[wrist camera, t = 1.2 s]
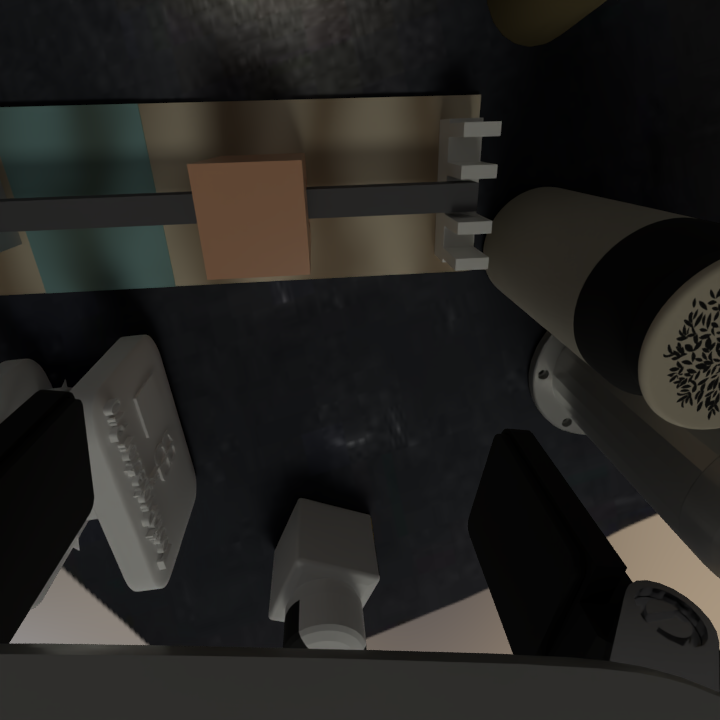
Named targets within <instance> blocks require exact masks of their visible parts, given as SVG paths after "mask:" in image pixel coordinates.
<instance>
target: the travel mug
mask: <svg viewBox="0 0 720 720" xmlns="http://www.w3.org/2000/svg"><path fill="white" fill-rule="evenodd" d="M483 254H485V255H486V256H488V257H489V263H488V269H486V272H487V274H488V276H489V278H490V280H491V282H492V283H493V284H494V285H495V286H496V287H497V288H498V289H499V290H500V291H501V292H502V293H503V294H505V295H506V296H507V297H508V298H509V299H511V300H512V301H513V302H514V303H515V304H517V305H518V306H519V307H520V308H521V309H522V310H524V311H525V312H526V313H527V314H528V315H530V316H531V317H532V318H533V319H534V320H536V321H537V322H538V323H539V324H540V325H542V326H543V327H544V328H545V329H546V330H547V331H549V332H550V333H551V334H552V335H553V336H555V337H556V338H557V339H558V340H559V341H561V342H562V343H563V344H564V345H565V346H566V347H568V348H569V349H570V350H571V351H572V352H574V353H575V354H576V355H577V356H578V357H580V358H581V359H582V360H583V361H584V362H585V363H587V364H588V365H589V366H590V367H591V368H593V369H594V370H595V371H596V372H597V373H599V374H600V375H601V376H602V377H603V378H604V379H606V380H607V381H608V382H609V383H611V384H612V385H613V386H615V387H616V388H618V389H620V390H622V391H625V392H627V393H631V394H634V395H640V396H643V397H644V399H645V401H646V402H647V404H648V405H649V407H650V408H651V409H652V410H653V411H654V412H655V413H656V414H657V415H658V416H659V417H661V418H662V419H664V420H665V421H667V422H669V423H672V424H674V425H677V426H680V427H684V428H689V429H701V430H706V429H717V428H720V223H716V222H711V221H707V220H702V219H698V218H693V217H688V216H684V215H679V214H675V213H670V212H666V211H661V210H657V209H652V208H648V207H643V206H639V205H634V204H630V203H625V202H621V201H616V200H611V199H607V198H602V197H598V196H593V195H589V194H584V193H580V192H575V191H571V190H566V189H562V188H557V187H540V188H535V189H532V190H529V191H526V192H524V193H522V194H520V195H518V196H517V197H515V198H514V199H512V200H511V201H510V202H508V203H507V204H506V205H505V206H504V207H503V208H502V209H501V210H500V211H499V213H498V214H497V215H496V217H495V218H494V220H493V221H492V231H491V233H489V234H487V235H486V238H485V242H484V249H483Z"/></svg>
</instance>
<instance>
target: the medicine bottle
mask: <svg viewBox="0 0 720 720" xmlns="http://www.w3.org/2000/svg"><path fill="white" fill-rule="evenodd" d="M379 579H380V574H379V568H378V561H377V554H376V548H375V541H374V534H373V528H372V521H371V517H370V515H368V514H364V513H360V512H356V511H352V510H348V509H344V508H340V507H336V506H332V505H328V504H324V503H321V502H317V501H313V500H309V499H305V498H299V499H298V501H297V503H296V505H295V507H294V509H293V512H292V514H291V516H290V518H289V520H288V523H287V525H286V527H285V529H284V531H283V534H282V536H281V538H280V540H279V542H278V545H277V547H276V549H275V552H274V562H273V573H272V584H271V595H270V605H269V618H270V619H271V620H276V621H282V622H285V623H284V640H283V648H302V649H344V650H366V638H365V628H364V619H363V609H362V608H363V607H364V605H365V603H366V602H367V600H368V598H369V597H370V595H371V593H372V592H373V590H374V588H375V587H376V585H377V583H378V582H379Z"/></svg>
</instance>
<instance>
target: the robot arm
mask: <svg viewBox="0 0 720 720" xmlns="http://www.w3.org/2000/svg"><path fill="white" fill-rule="evenodd" d="M529 389H530V393H531V397H532V399H533V401H534V403H535V405H536V407H537V408H538V410H539V411H540V412H541V413H542V415H543V416H544V417H545V418H546V419H547V420H548V421H549V422H550V423H552V424H553V425H554V426H556V427H558V428H560V429H562V430H564V431H568V432H571V433H575V434H585V435H587V436H588V437H589V438H590V439H591V440H592V442H593V443H594V444H595V445H596V446H597V447H598V448H599V449H600V450H601V451H602V453H603V454H604V455H605V456H606V457H607V458H608V459H609V460H610V461H611V462H612V464H613V465H614V466H615V467H616V468H617V469H618V470H619V471H620V472H621V474H622V475H623V476H624V477H625V478H626V479H627V480H628V481H629V482H630V483H631V485H632V486H633V487H634V488H635V489H636V490H637V491H638V492H639V493H640V494H641V496H642V497H643V498H644V499H645V500H646V501H647V502H648V503H649V504H650V506H651V507H652V508H653V509H654V510H655V511H656V512H657V513H658V514H659V515H660V517H661V518H662V519H663V520H664V521H665V522H666V523H667V524H668V525H669V526H670V528H671V529H672V530H673V531H674V532H675V533H676V534H677V535H678V536H679V537H680V539H681V540H682V541H683V542H684V543H685V544H686V545H687V546H688V547H689V548H690V549H691V551H692V552H693V553H694V554H695V555H696V556H697V557H698V558H699V559H700V560H701V561H702V563H703V564H704V565H706V567H708V568H709V569H710V570H711V571H712V572H713V573H714V574H715V575H716V576H717V577H719V578H720V428H717V429H706V430H701V429H689V428H684V427H680V426H677V425H674V424H672V423H669V422H667V421H665V420H664V419H662V418H661V417H659V416H658V415H657V414H656V413H655V412H654V411H653V410H652V409H651V408H650V407H649V405H648V404H647V402H646V401H645V399H644V397H643V396H640V395H634V394H631V393H627V392H625V391H622V390H620V389H618V388H616V387H615V386H613V385H612V384H611V383H609V382H608V381H607V380H606V379H604V378H603V377H602V376H601V375H600V374H599V373H597V372H596V371H595V370H594V369H593V368H591V367H590V366H589V365H588V364H587V363H585V362H584V361H583V360H582V359H581V358H580V357H578V356H577V355H576V354H575V353H574V352H572V351H571V350H570V349H569V348H568V347H566V346H565V345H564V344H563V343H562V342H561V341H559V340H558V339H557V338H556V337H555V336H553V335H552V334H551V333H550V332H549V331H546V333H545V334H544V336H543V337H542V339H541V340H540V342H539V344H538V345H537V347H536V350H535V352H534V354H533V357H532V359H531V364H530V369H529ZM93 504H94V490H93V482H92V474H91V466H90V458H89V450H88V441H87V433H86V425H85V417H84V409H83V404H82V401H81V400H79V399H75V397H74V395H73V393H71V392H67V391H55V390H44V389H43V390H39V391H37V392H36V393H35V394H33V395H32V396H31V397H30V398H29V399H28V400H27V401H25V402H24V403H23V404H22V405H21V406H20V407H19V408H17V409H16V410H15V411H14V412H13V413H12V414H11V415H9V416H8V417H7V418H6V419H5V420H4V421H3V422H2V423H0V720H720V650H719V640H718V636H717V631H716V630H715V628H714V626H713V625H712V623H711V621H710V620H709V618H708V617H707V616H706V615H705V614H704V613H703V612H702V611H701V609H700V608H699V607H698V606H696V605H695V604H694V603H693V602H692V601H690V600H689V599H688V598H687V597H685V596H684V595H682V594H680V593H679V592H677V591H676V590H674V589H672V588H670V587H667V586H665V585H663V584H660V583H657V582H652V581H648V580H644V581H635V582H632V581H631V580H630V578H629V577H628V575H627V574H626V572H625V571H626V569H627V567H626V565H625V564H624V563H623V561H622V560H621V558H620V557H619V555H618V554H617V553H616V551H615V550H614V549H613V547H612V545H611V544H610V543H609V541H608V540H607V538H606V537H605V536H604V534H603V533H602V531H601V530H600V528H599V527H598V526H597V524H596V523H595V521H594V520H593V519H592V517H591V516H590V514H589V513H588V511H587V510H586V509H585V507H584V506H583V504H582V503H581V502H580V500H579V499H578V497H577V496H576V494H575V493H574V492H573V490H572V489H571V487H570V486H569V485H568V483H567V482H566V480H565V479H564V477H563V476H562V475H561V473H560V472H559V470H558V469H557V468H556V466H555V465H554V463H553V462H552V460H551V459H550V458H549V456H548V455H547V453H546V452H545V451H544V449H543V448H542V446H541V445H540V443H539V442H538V441H537V439H536V438H535V436H534V435H533V434H532V433H531V432H530V431H528V430H517V429H504V430H503V432H502V433H501V434H497V435H496V436H495V437H494V439H493V443H492V446H491V449H490V452H489V455H488V459H487V462H486V465H485V468H484V471H483V474H482V478H481V481H480V484H479V487H478V490H477V494H476V497H475V500H474V503H473V506H472V510H471V513H470V516H469V520H468V531H469V535H470V538H471V540H472V543H473V546H474V549H475V551H476V554H477V557H478V560H479V562H480V565H481V568H482V570H483V573H484V576H485V579H486V581H487V584H488V587H489V590H490V592H491V595H492V598H493V600H494V603H495V606H496V609H497V611H498V614H499V617H500V619H501V622H502V625H503V628H504V630H505V633H506V636H507V639H508V641H509V644H510V647H511V650H512V652H513V655H511V654H488V653H453V652H418V651H416V652H415V651H382V650H344V649H302V648H257V647H211V646H155V645H96V644H95V645H94V644H91V645H90V644H9V642H10V641H11V639H12V638H13V636H14V634H15V633H16V631H17V630H18V628H19V626H20V625H21V623H22V622H23V620H24V618H25V617H26V615H27V614H28V612H29V610H30V609H31V607H32V606H33V604H34V602H35V601H36V599H37V598H38V596H39V594H40V593H41V591H42V590H43V588H44V586H45V585H46V583H47V582H48V580H49V578H50V577H51V575H52V574H53V572H54V570H55V569H56V567H57V566H58V564H59V562H60V561H61V559H62V558H63V556H64V554H65V553H66V551H67V550H68V548H69V546H70V545H71V543H72V542H73V540H74V538H75V537H76V535H77V534H78V532H79V530H80V529H81V527H82V526H83V524H84V522H85V521H86V519H87V518H88V516H89V514H90V513H91V510H92V508H93Z"/></svg>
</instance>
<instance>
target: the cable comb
mask: <svg viewBox="0 0 720 720" xmlns="http://www.w3.org/2000/svg"><path fill="white" fill-rule="evenodd" d="M501 124H502V121H493V122H483V118H455V119H442V120H440V133H439V157H438V181H437V182H442V181H468V180H471V181H474V182H479V179H488V178H496V177H497V167H498V164H492V163H486V162H480V156H481V144H482V137H485V136H500V135H501ZM491 231H492V221H491V220H489V219H487V218H485V217H483V216H481V215H479V214H477V213H476V211H475V212H452V213H436V228H435V252H434V254H435V255H436V256H437V257H438V258H439V259H440V260H441V261H442V262H447V263H448V264H449V265H450V266H451V267H452V268H453V269H454V270H455V271H459V270H478V269H488V263H489V257H488V256H486V255H485V254H483V253H482V252H481V251H479V250H478V249H476V248H475V247H474V234H489V233H491Z"/></svg>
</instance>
